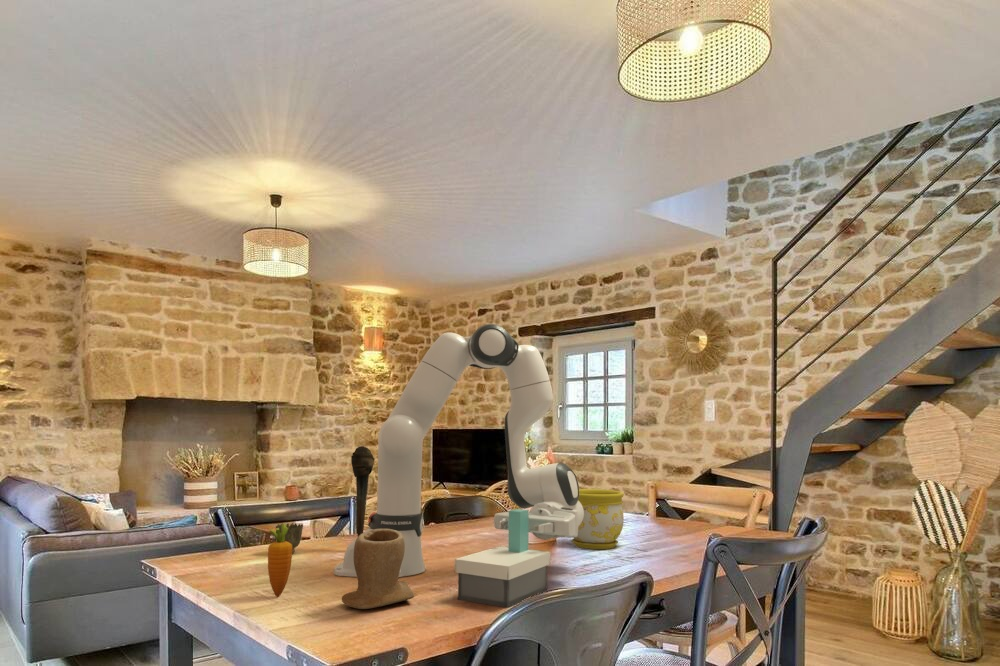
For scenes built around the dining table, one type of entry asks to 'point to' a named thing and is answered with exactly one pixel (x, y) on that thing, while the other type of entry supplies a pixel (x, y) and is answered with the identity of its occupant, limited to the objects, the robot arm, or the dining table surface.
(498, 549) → the lid
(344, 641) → the dining table surface
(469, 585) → the tub
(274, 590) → the carrot
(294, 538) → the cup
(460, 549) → the dining table surface
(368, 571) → the brown boot-shaped piece
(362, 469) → the decorative torch
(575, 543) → the flowerpot
